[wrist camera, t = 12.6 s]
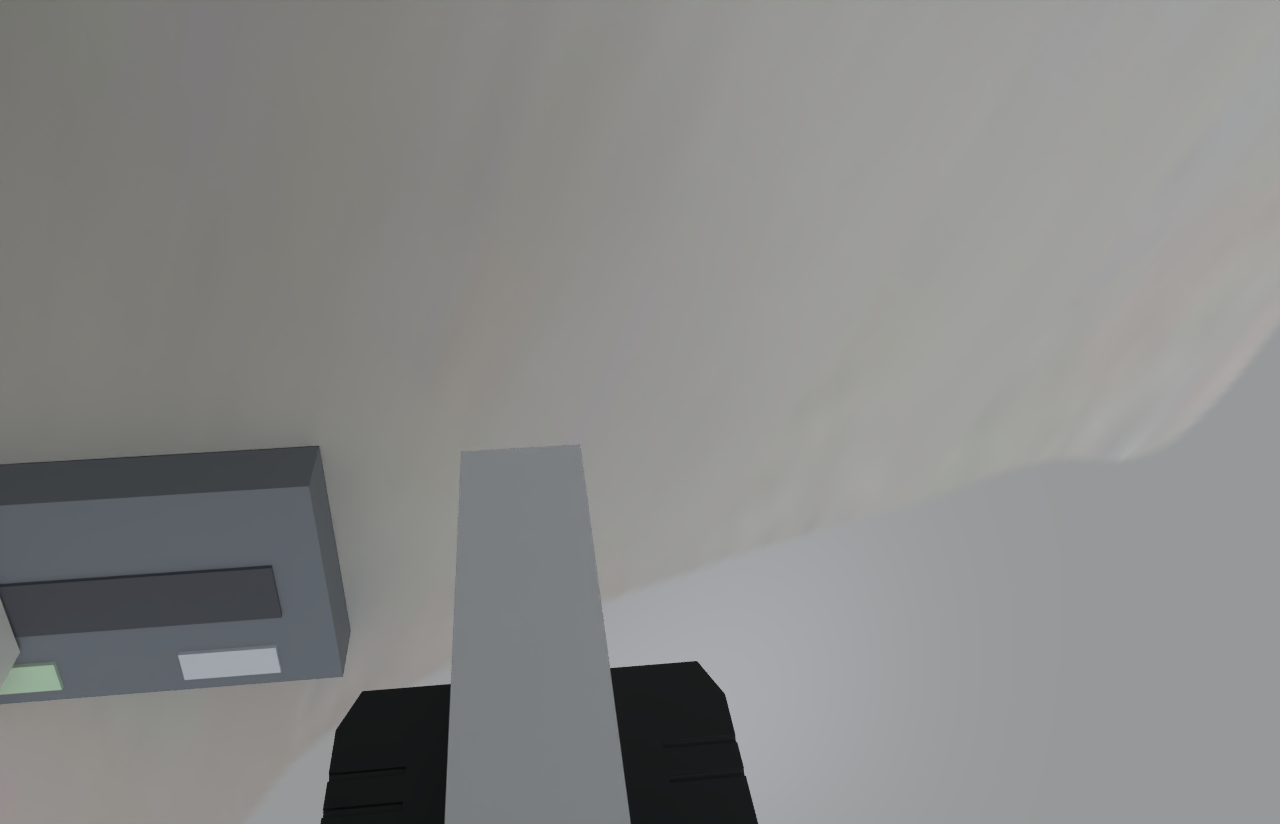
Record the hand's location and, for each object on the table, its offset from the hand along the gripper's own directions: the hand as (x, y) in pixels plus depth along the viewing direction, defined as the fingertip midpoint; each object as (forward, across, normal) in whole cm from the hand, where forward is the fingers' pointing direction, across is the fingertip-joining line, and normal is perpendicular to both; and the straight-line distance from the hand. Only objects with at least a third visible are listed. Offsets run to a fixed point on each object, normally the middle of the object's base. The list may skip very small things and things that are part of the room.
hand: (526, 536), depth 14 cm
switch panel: (+28, -18, -20) cm, 39 cm away
